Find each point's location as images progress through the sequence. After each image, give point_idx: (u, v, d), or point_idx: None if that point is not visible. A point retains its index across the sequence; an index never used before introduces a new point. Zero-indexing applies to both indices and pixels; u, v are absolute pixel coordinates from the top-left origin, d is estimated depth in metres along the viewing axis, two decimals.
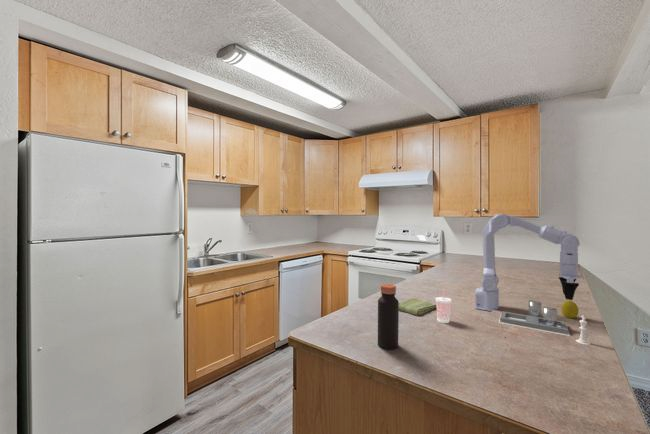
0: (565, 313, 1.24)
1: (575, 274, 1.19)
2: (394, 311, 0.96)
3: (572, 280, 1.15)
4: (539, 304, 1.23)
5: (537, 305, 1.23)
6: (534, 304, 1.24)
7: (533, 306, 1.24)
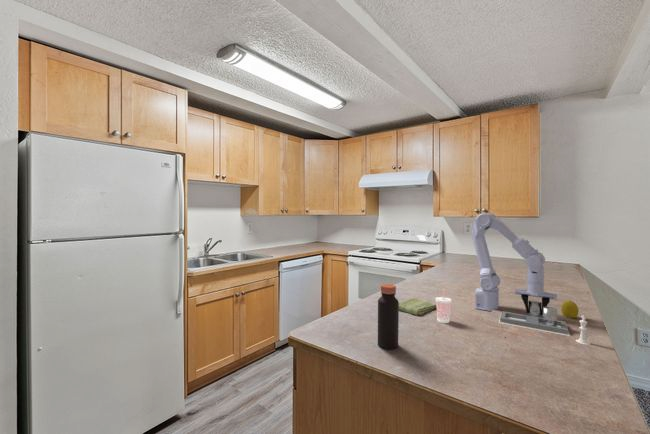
0: (565, 313, 1.24)
1: (529, 290, 1.25)
2: (394, 311, 0.96)
3: None
4: (539, 304, 1.23)
5: (537, 305, 1.23)
6: (534, 304, 1.24)
7: (533, 306, 1.24)
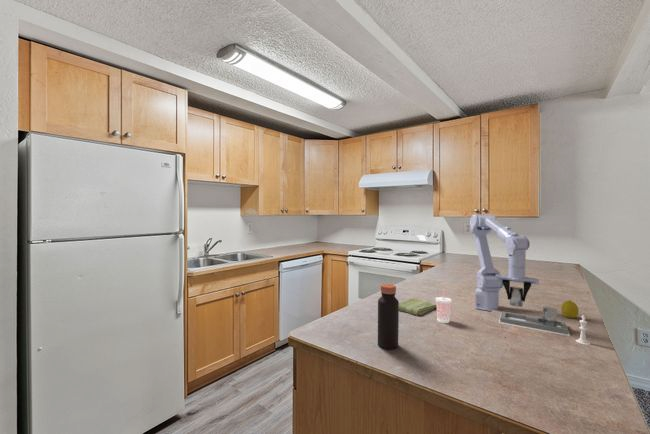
0: (565, 313, 1.24)
1: (510, 275, 1.19)
2: (394, 311, 0.96)
3: (495, 277, 1.23)
4: (520, 290, 1.18)
5: (518, 290, 1.18)
6: (515, 289, 1.19)
7: (513, 292, 1.19)
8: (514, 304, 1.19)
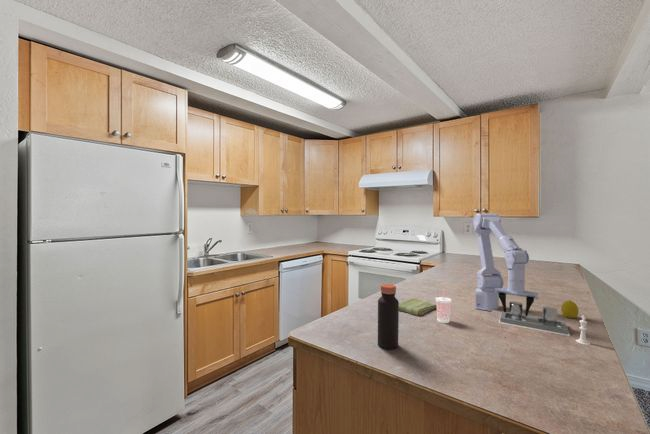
0: (565, 313, 1.24)
1: (509, 289, 1.19)
2: (394, 311, 0.96)
3: (495, 290, 1.23)
4: (519, 306, 1.18)
5: (517, 307, 1.18)
6: (514, 305, 1.18)
7: (513, 308, 1.19)
8: None
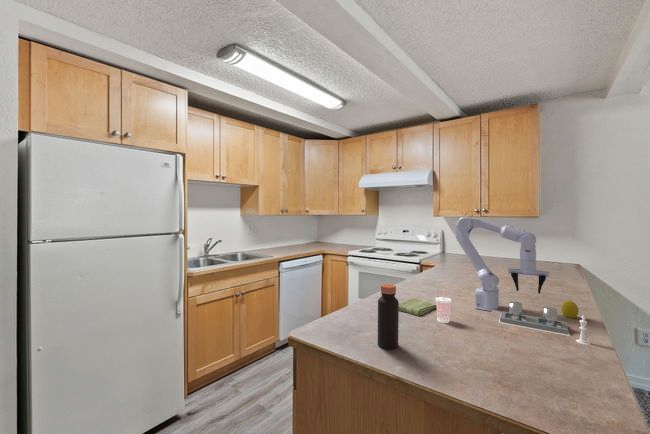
0: (565, 313, 1.24)
1: (522, 269, 1.28)
2: (394, 311, 0.96)
3: (508, 271, 1.32)
4: (519, 305, 1.18)
5: (517, 306, 1.18)
6: (514, 305, 1.19)
7: (512, 308, 1.19)
8: None
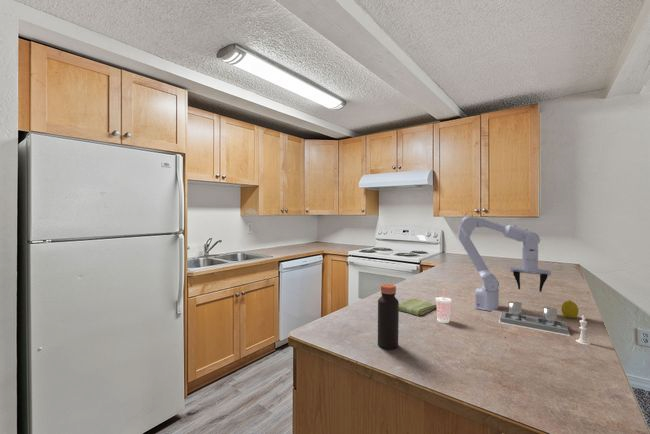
0: (565, 313, 1.24)
1: (524, 267, 1.31)
2: (394, 311, 0.96)
3: (510, 269, 1.35)
4: (519, 305, 1.18)
5: (517, 306, 1.18)
6: (514, 305, 1.19)
7: (512, 308, 1.19)
8: None
